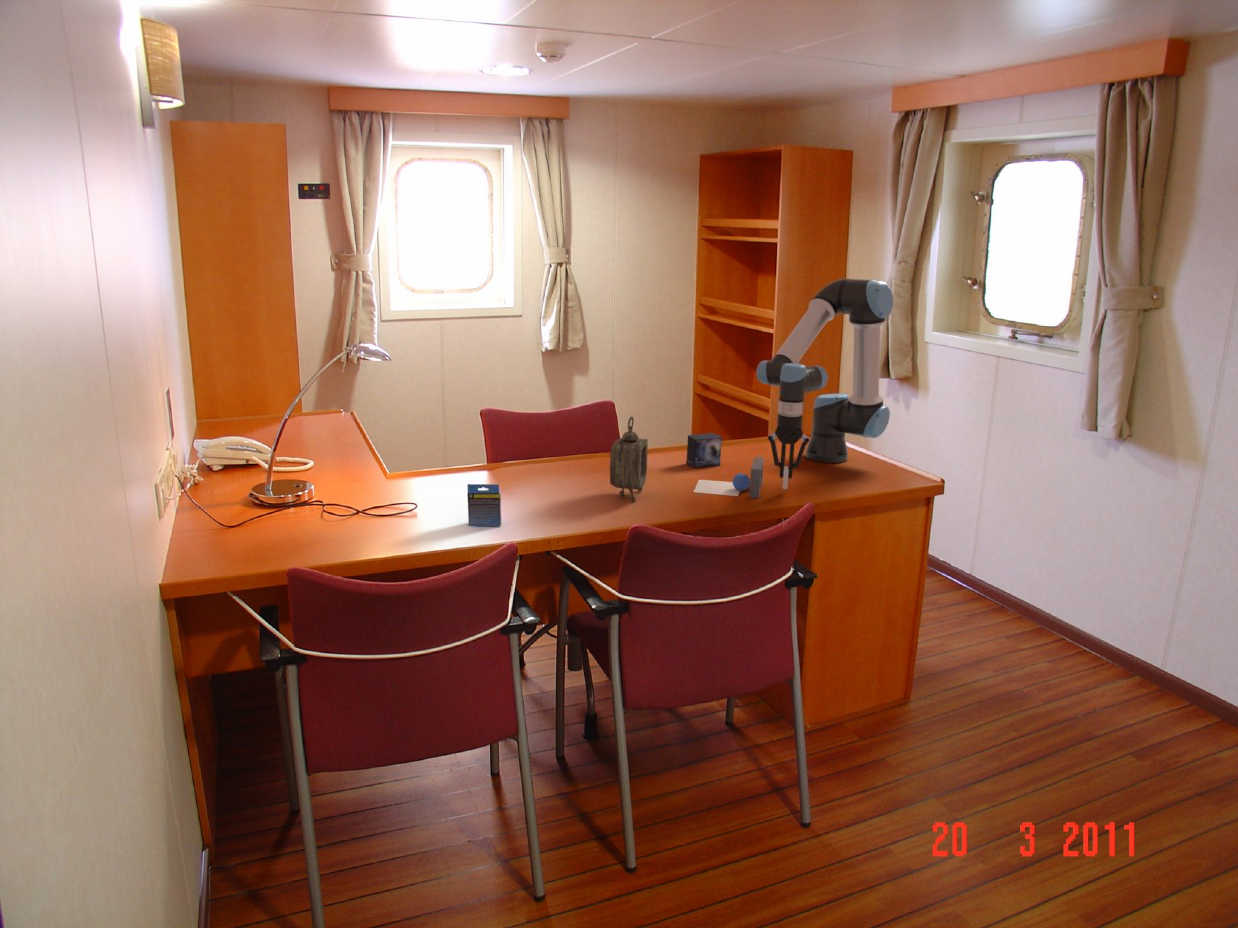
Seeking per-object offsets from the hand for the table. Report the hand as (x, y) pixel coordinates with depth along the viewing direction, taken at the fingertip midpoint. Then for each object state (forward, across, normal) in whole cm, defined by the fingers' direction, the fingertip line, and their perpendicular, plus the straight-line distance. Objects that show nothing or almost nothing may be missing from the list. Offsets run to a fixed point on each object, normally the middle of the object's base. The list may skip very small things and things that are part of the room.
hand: (785, 487), depth 280 cm
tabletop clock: (+2, -47, -16) cm, 50 cm away
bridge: (+2, -9, 0) cm, 9 cm away
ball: (-1, -14, 0) cm, 14 cm away
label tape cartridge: (+2, -80, -52) cm, 95 cm away
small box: (+2, -29, +26) cm, 39 cm away
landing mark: (+2, -21, 0) cm, 21 cm away
